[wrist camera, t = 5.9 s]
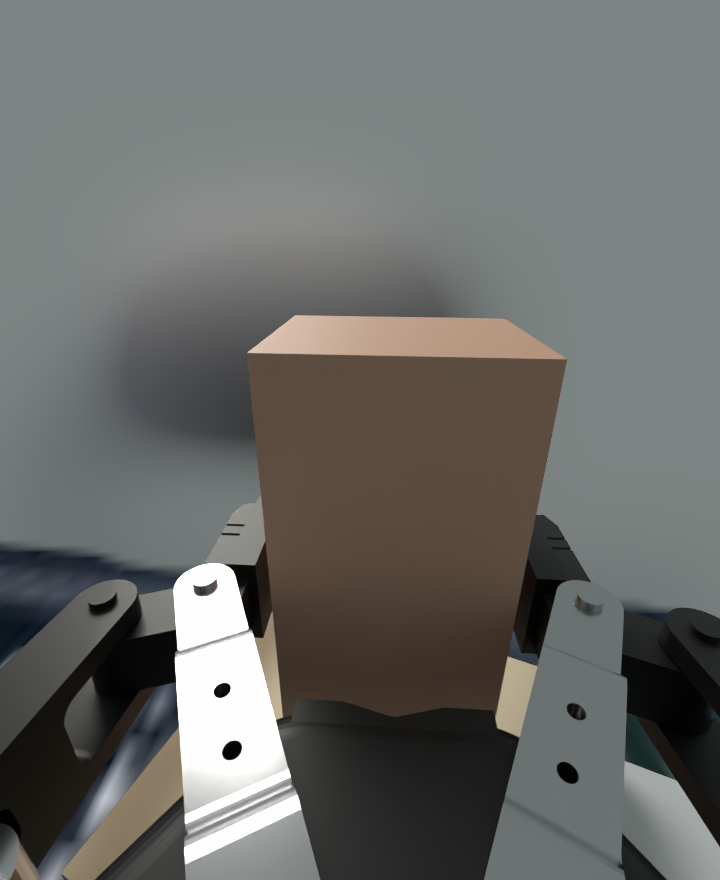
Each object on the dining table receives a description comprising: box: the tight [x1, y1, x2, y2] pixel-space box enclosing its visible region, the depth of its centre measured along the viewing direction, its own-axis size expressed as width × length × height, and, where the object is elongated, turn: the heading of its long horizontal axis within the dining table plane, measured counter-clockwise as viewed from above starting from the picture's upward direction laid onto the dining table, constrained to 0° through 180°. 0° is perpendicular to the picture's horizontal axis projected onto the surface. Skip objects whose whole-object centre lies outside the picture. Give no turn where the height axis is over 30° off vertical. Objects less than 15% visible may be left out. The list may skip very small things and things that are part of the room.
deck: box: [61, 612, 537, 880], centre depth 15 cm, size 14×12×4 cm
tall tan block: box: [247, 315, 567, 718], centre depth 12 cm, size 5×4×14 cm
